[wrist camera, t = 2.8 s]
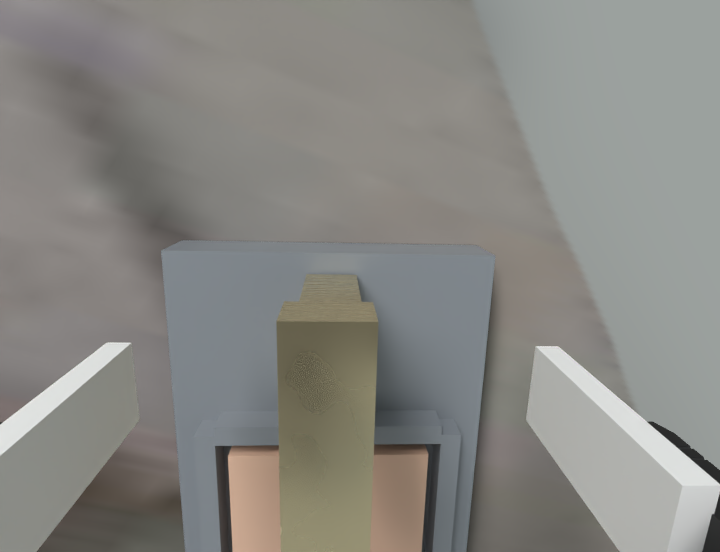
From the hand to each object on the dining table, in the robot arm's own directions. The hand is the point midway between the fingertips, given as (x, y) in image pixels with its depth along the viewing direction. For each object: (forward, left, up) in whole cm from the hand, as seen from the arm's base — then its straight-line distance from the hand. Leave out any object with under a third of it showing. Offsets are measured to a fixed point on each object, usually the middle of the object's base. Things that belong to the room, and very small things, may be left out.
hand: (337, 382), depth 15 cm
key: (-3, 0, -8) cm, 8 cm away
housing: (-8, 0, -11) cm, 14 cm away
